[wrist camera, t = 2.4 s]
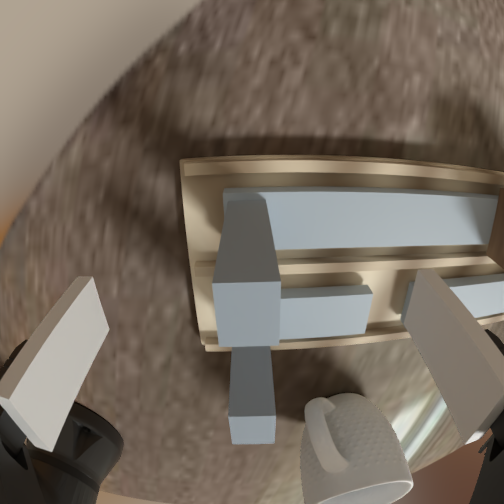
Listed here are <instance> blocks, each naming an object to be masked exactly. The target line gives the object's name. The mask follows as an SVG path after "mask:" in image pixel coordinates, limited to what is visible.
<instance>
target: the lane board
mask: <svg viewBox="0 0 504 504" xmlns="http://www.w3.org/2000/svg"><path fill="white" fill-rule="evenodd" d="M179 162H180V174H181V186H182V197H183V207H184V217H185V227H186V236H187V244H188V253H189V261H190V269H191V277H192V284H193V291H194V298H195V305H196V312H197V319H198V325H199V332H200V338H201V344H202V345H205V349H206V351H232V347H219V342H218V334H217V325H216V316H215V307H214V298H213V288H212V281H213V275H214V270H215V265H216V259H217V254H218V249H219V244H220V238H221V233H222V228H223V223H224V206H223V191H224V188H241V187H287V186H332V187H378V188H403V189H422V190H438V191H452V192H465V193H477V194H488V195H498V196H499V191H500V188H503V189H504V172H500V171H494V170H488V169H482V168H475V167H468V166H460V165H452V164H444V163H435V162H426V161H416V160H404V159H392V158H377V157H359V156H335V155H244V156H219V157H201V158H186V159H181V160H180V161H179ZM487 248H488V244H470V245H430V246H392V247H354V248H317V249H281V250H275V251H276V256H277V262H278V267H279V273H280V278H281V289H286V288H310V287H332V286H351V285H368V286H369V288H370V289H371V291H372V293H373V298H372V303H371V307H370V312H369V317H368V321H367V326H366V330H365V334H354V335H343V336H331V337H317V338H301V339H282V340H279V345H277V346H270V350H286V349H303V348H318V347H331V346H343V345H353V344H363V343H372V342H380V341H389V340H396V339H404V338H411V336H410V334H409V332H408V331H407V329H406V328H405V327H404V325H403V323H402V322H401V320H400V318H401V314H402V311H403V307H404V303H405V299H406V295H407V291H408V287H409V283H410V282H413V281H415V279H416V275H417V271H418V270H420V269H433V270H434V271H435V272H436V273H437V274H438V275H439V276H440V277H441V278H442V279H450V278H462V277H472V276H483V275H493V274H502V273H504V269H503V268H501V267H500V266H499V265H498V264H497V263H495V262H494V261H493V260H492V259H491V258H489V257H488V256H487V255H486V252H487ZM475 319H476V320H477V321H478V323H479V324H480V325H484V324H489V323H494V322H498V321H502V320H504V312H503V313H498V314H493V315H488V316H483V317H478V318H475Z"/></svg>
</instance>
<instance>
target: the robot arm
mask: <svg viewBox="0 0 504 504" xmlns="http://www.w3.org/2000/svg"><path fill="white" fill-rule="evenodd" d="M404 325H405V327H406V329H407V331H408V332H409V334H410V336H411V338H412V339H413V341H414V343H415V345H416V347H417V348H418V350H419V352H420V354H421V356H422V358H423V360H424V361H425V363H426V365H427V367H428V369H429V371H430V373H431V375H432V377H433V379H434V381H435V383H436V385H437V387H438V389H439V391H440V393H441V395H442V397H443V399H444V401H445V403H446V405H447V407H448V409H449V411H450V413H451V415H452V417H453V420H454V422H455V424H456V426H457V428H458V431H459V433H460V435H461V437H462V440H463V442H464V444H468V443H470V442H473V441H475V440H478V439H480V438H482V437H483V436H484V434H485V433H486V432H487V431H488V429H489V428H491V430H492V432H493V434H492V436H491V437H490V438H489V439H488V440H487V441H486V443H485V444H484V445H483V446H482V447H481V448H480V450H479V453H482V451H483V450H484V449H485V448H486V447H487V450H486V453H485V454H484V455H485V457H484V461H483V464H482V468H481V471H480V474H479V477H478V480H477V483H476V486H475V490H474V492H473V495H472V498H471V500H470V503H469V504H504V344H503V343H502V342H501V340H500V339H499V338H498V337H497V336H496V335H495V334H493V333H492V332H491V331H489V330H488V329H486V330H484V329H483V328H482V326H481V325H480V324H479V323H478V321H477V320H476V319H475V318H474V316H473V315H472V314H471V313H470V311H469V310H468V309H467V308H466V307H465V305H464V304H463V303H462V302H461V301H460V299H459V298H458V297H457V296H456V295H455V293H454V292H453V291H452V290H451V289H450V288H449V286H448V285H447V284H446V283H445V282H444V281H443V280H442V278H441V277H440V276H439V275H438V274H437V273H436V272H435V271H434V270H433V269H420V270H418V271H417V275H416V279H415V283H414V287H413V291H412V295H411V299H410V303H409V306H408V310H407V313H406V317H405V320H404ZM108 331H109V327H108V324H107V321H106V318H105V315H104V312H103V309H102V306H101V303H100V300H99V296H98V293H97V290H96V286H95V283H94V279H93V277H77V278H76V279H75V280H74V282H73V283H72V284H71V285H70V286H69V288H68V289H67V290H66V291H65V293H64V294H63V295H62V296H61V297H60V299H59V300H58V301H57V303H56V304H55V305H54V306H53V308H52V309H51V310H50V311H49V313H48V314H47V315H46V317H45V318H44V319H43V321H42V322H41V323H40V325H39V326H38V327H37V329H36V330H35V331H34V333H33V334H32V335H31V337H30V338H29V339H28V340H25V341H23V342H22V343H21V344H20V345H19V346H17V347H16V348H15V350H14V351H13V352H12V354H11V355H10V357H9V359H7V361H6V362H5V364H4V367H2V368H1V370H0V504H96V500H97V496H98V492H99V488H100V485H101V483H102V481H103V480H104V479H105V478H106V476H107V475H108V474H109V472H110V471H111V470H112V468H113V467H114V466H115V464H116V463H117V462H118V460H119V459H120V457H121V454H122V450H123V446H124V442H123V439H122V437H121V436H120V434H119V433H118V432H117V431H116V430H115V428H113V427H112V426H111V425H110V424H109V423H108V422H106V421H105V420H104V419H102V418H101V417H100V416H98V415H97V414H95V413H93V412H92V411H90V410H88V409H86V408H84V407H82V406H80V405H78V404H76V403H74V400H75V398H76V396H77V394H78V392H79V389H80V387H81V385H82V383H83V381H84V379H85V377H86V375H87V373H88V371H89V369H90V367H91V365H92V363H93V361H94V359H95V357H96V355H97V353H98V351H99V349H100V347H101V345H102V343H103V341H104V339H105V337H106V335H107V333H108ZM26 437H27V445H25V444H24V441H25V439H26Z"/></svg>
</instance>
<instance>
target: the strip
mask: <svg viewBox="0 0 504 504" xmlns="http://www.w3.org/2000/svg"><path fill="white" fill-rule="evenodd" d="M498 197H499V196H498V195H488V194H477V193H465V192H452V191H438V190H422V189H403V188H378V187H332V186H287V187H241V188H224V191H223V206H224V223H223V228H222V233H221V238H220V244H219V249H218V254H217V259H216V265H215V270H214V275H213V281H212V288H213V298H214V307H215V316H216V325H217V334H218V342H219V347H248V346H277V345H279V335H280V303H281V278H280V273H279V267H278V262H277V256H276V251H275V250H281V249H317V248H354V247H392V246H430V245H470V244H489V240H490V236H491V232H492V227H493V223H494V218H495V213H496V208H497V203H498Z"/></svg>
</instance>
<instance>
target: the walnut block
mask: <svg viewBox="0 0 504 504" xmlns="http://www.w3.org/2000/svg"><path fill="white" fill-rule="evenodd" d="M486 255H487V256H488V257H489V258H491V259H492V260H493V261H494V262H495V263H497V264H498V265H499V266H500V267H501V268H503V269H504V189H503V188H500V191H499V197H498V203H497V208H496V213H495V218H494V223H493V227H492V232H491V236H490V240H489V244H488V248H487V252H486Z"/></svg>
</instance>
